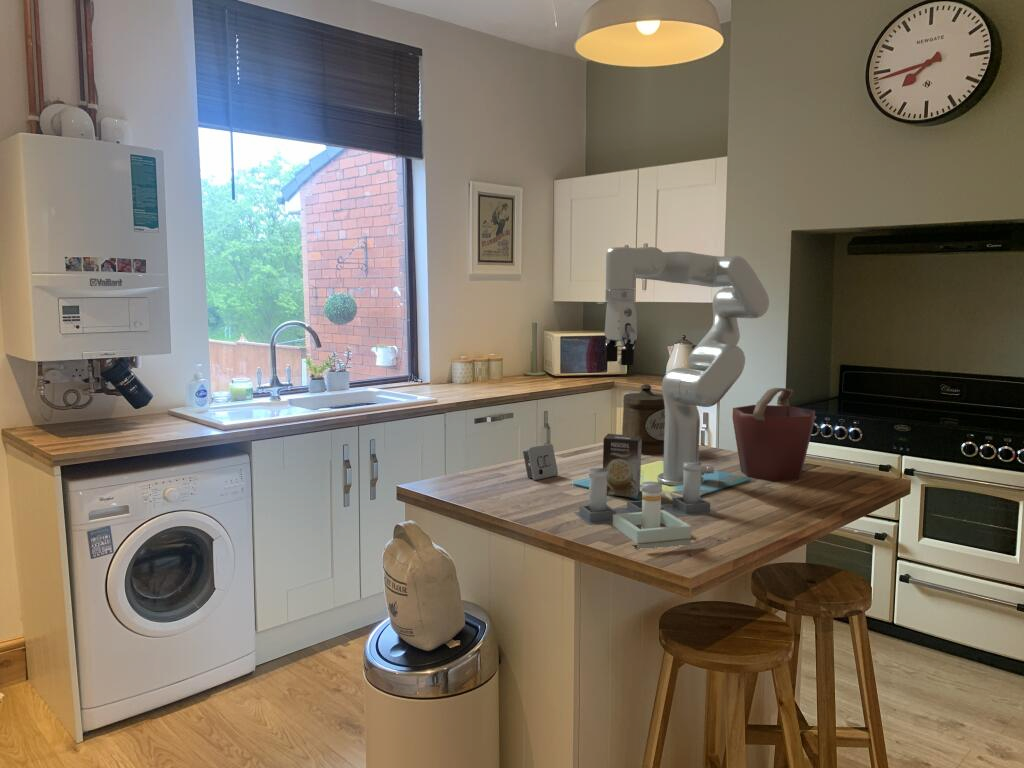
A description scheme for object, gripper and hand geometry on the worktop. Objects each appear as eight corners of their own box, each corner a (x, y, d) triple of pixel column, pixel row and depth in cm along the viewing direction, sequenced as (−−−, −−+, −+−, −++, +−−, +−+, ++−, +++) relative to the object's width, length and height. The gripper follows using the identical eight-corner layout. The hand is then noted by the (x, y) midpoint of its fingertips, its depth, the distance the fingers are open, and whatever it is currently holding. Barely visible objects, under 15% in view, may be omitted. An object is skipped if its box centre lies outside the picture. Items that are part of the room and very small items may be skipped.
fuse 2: (694, 505, 188) (695, 460, 186) (703, 510, 184) (705, 464, 182) (678, 506, 186) (680, 462, 185) (687, 511, 182) (688, 465, 181)
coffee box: (600, 499, 198) (601, 437, 196) (606, 493, 204) (607, 433, 202) (636, 503, 195) (638, 440, 193) (640, 496, 201) (642, 435, 199)
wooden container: (657, 456, 248) (659, 388, 245) (614, 451, 255) (616, 385, 252) (673, 448, 260) (675, 383, 258) (631, 443, 268) (633, 380, 265)
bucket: (766, 461, 241) (769, 381, 238) (832, 475, 223) (837, 389, 220) (715, 473, 226) (718, 388, 223) (782, 488, 209) (786, 396, 205)
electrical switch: (534, 481, 217) (532, 448, 216) (522, 479, 220) (520, 447, 220) (558, 476, 223) (556, 443, 222) (546, 474, 227) (544, 442, 226)
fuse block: (695, 507, 191) (695, 493, 191) (716, 519, 181) (717, 504, 181) (573, 518, 182) (573, 503, 182) (589, 531, 173) (589, 516, 172)
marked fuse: (655, 529, 170) (656, 480, 169) (664, 535, 166) (665, 485, 165) (637, 531, 169) (638, 482, 168) (646, 537, 165) (647, 487, 164)
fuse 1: (602, 513, 181) (603, 467, 179) (609, 518, 177) (610, 471, 175) (585, 515, 180) (586, 468, 178) (592, 520, 176) (593, 472, 174)
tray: (663, 527, 176) (663, 509, 175) (690, 544, 164) (691, 526, 163) (612, 531, 172) (613, 514, 172) (637, 550, 160) (637, 531, 160)
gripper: (648, 296, 191) (647, 366, 193) (619, 295, 207) (618, 359, 209) (620, 297, 189) (619, 367, 191) (593, 295, 205) (592, 360, 207)
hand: (619, 363), depth 200 cm, fingers open, 9 cm apart
